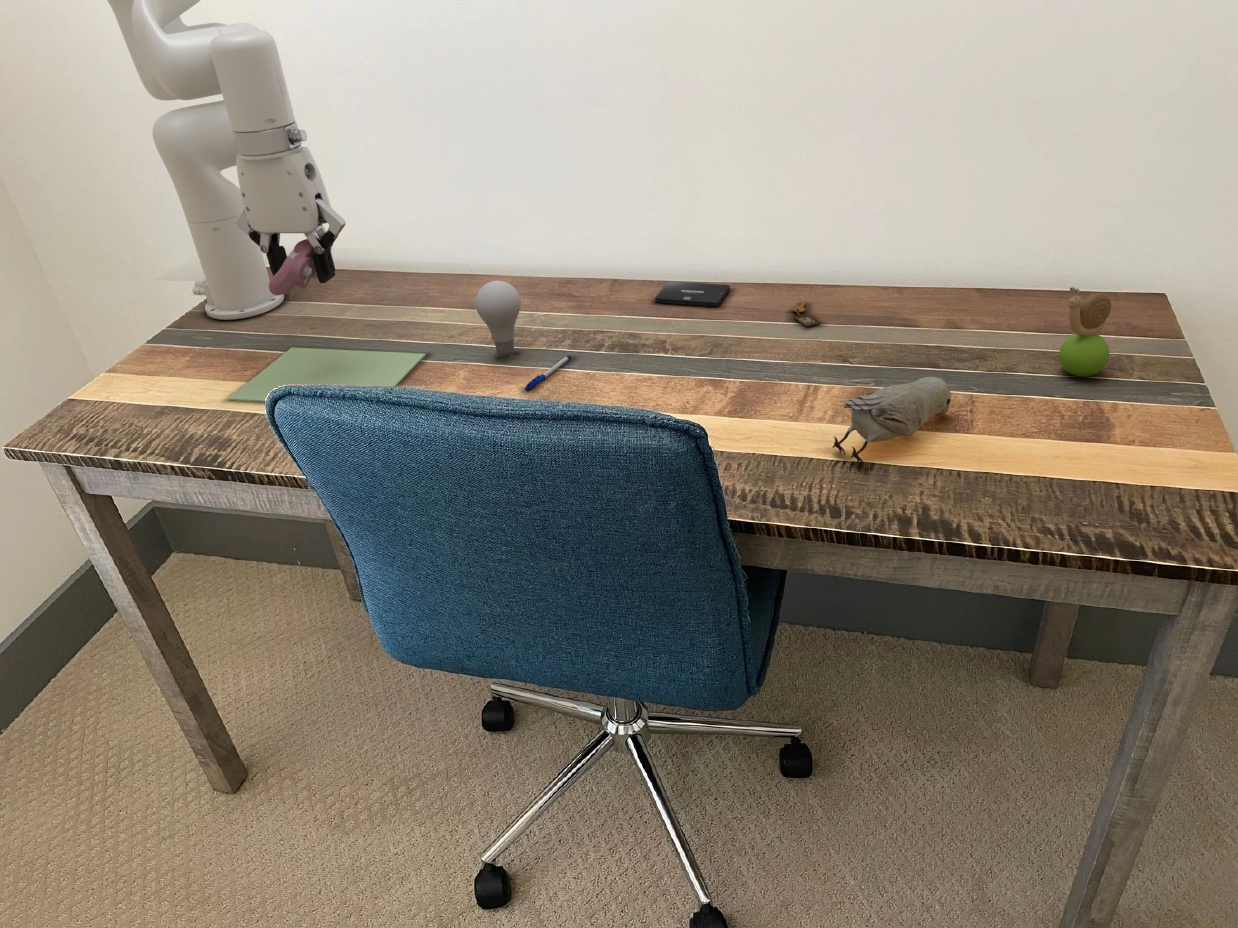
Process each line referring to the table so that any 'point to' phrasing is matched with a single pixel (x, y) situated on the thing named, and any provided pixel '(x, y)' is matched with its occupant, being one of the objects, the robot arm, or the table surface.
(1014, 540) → the table surface
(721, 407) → the table surface
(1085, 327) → the snail figurine
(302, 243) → the video game controller
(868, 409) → the decorative bird
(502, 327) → the lightbulb
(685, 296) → the solid state drive
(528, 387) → the ballpoint pen
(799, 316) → the key tag
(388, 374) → the desk mat
